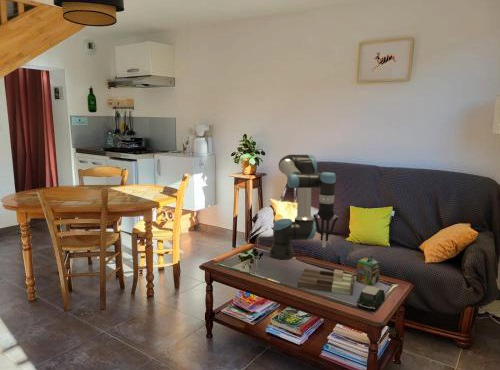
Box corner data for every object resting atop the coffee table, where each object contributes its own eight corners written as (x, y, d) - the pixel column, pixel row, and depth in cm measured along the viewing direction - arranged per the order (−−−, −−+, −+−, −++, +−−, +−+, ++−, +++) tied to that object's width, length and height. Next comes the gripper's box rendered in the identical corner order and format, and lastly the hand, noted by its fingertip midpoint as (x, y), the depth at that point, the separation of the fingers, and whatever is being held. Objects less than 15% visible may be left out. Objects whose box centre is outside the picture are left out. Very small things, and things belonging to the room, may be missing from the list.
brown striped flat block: (304, 273, 216) (305, 263, 215) (353, 280, 208) (354, 269, 207) (298, 287, 197) (298, 276, 196) (352, 295, 189) (352, 283, 188)
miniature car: (385, 299, 187) (386, 283, 186) (375, 313, 172) (376, 296, 171) (367, 294, 192) (368, 279, 190) (355, 307, 177) (356, 291, 176)
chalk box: (363, 276, 214) (365, 251, 212) (379, 281, 208) (381, 255, 205) (355, 280, 208) (357, 254, 205) (370, 286, 201) (373, 259, 199)
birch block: (334, 277, 203) (334, 269, 203) (342, 278, 202) (343, 270, 201) (333, 280, 199) (333, 272, 198) (342, 282, 198) (342, 273, 197)
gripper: (312, 202, 195) (310, 247, 199) (338, 205, 191) (335, 250, 195) (314, 200, 202) (312, 243, 206) (340, 202, 199) (337, 245, 202)
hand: (323, 246), depth 201 cm, fingers closed
